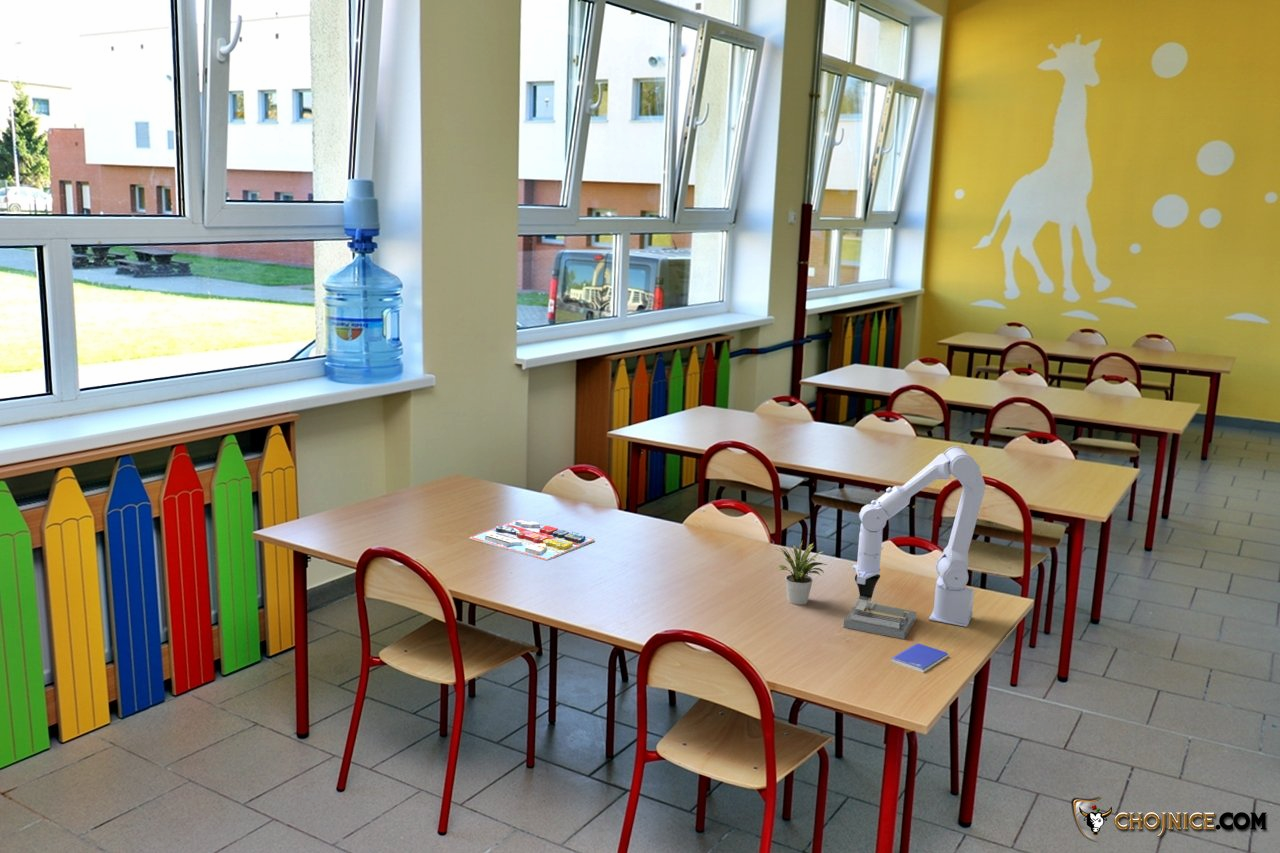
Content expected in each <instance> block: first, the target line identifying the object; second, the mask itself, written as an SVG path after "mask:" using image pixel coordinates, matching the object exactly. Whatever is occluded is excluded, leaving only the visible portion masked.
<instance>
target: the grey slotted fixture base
mask: <svg viewBox="0 0 1280 853" xmlns="http://www.w3.org/2000/svg"><path fill="white" fill-rule="evenodd" d="M856 606H857V602H856V603H855V604H854V606H853V607H852V609H851V610H850V611H849V613H848V614H847V615H846V616H845V618H844V619H843V628H846V629H850V630H857V631H861V632H866V633H870V634H875V635H880V636H885V637H886V636H887V637H891V638H896V639H901V640H905V638H906V637H907V635H908V634H909V632H910V630H911V629H912V627H913V625H914V623H915V622H916V620H917V616H918V615H917V611H913V610H910V609H909V610H908V609H905V608H904V609H902V608H897V607H893V606H888V605H882V604H878V601H877V600H874V602H872V603H871V602H870V608H869V610H870V611H875V612H880V613H885V614H890V615H895V616H900V618H896V617H891V616H886V615H881V614H876V613H870V612H865V611H860V610H855V608H856Z"/></svg>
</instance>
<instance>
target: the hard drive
mask: <svg viewBox="0 0 1280 853" xmlns="http://www.w3.org/2000/svg"><path fill="white" fill-rule="evenodd" d="M948 656H949V653H948V652H946V651H944V650H940V649H938V648H935V647H931V646H928V645H924V644H921V643H917V642H916V643H914V645H912V646H910V647H909V648H906V649H904V650H903V651H901V652H899V653H897V654H896V655H894V656H893V657H891V658H890V663H893V664H896V665H899V666H901V667H905V668H908V669H910V670H914V671H916V672H920V673H923V674H924V673H925V672H926V671H928V670H930V669H931V668H932V667H934V666H936V665H937V664H938V663H941V662H942V661H943V660H945V659H947V658H948Z"/></svg>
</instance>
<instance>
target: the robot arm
mask: <svg viewBox="0 0 1280 853" xmlns="http://www.w3.org/2000/svg"><path fill="white" fill-rule="evenodd" d="M951 475H952V476H953V477H954V478H955V479H956V480H957V481H958V482H959V483H960V484H961V486H962V491H961V494H960V495H961V496H960V499H959V502H958V506H957V510H956V514H955V517H954V519H953V520H954V521H953V525H952V527H951V528H952V529H951V531H950V535H949V539H948V544H947V545H946V547H945V548H944V549H943V551H942V554H941V556H940V557H939V558H937V561H936V564H935V570H936V573H937V574H938V575H939V576H938V578H937V580H936V582H935V591H934V602H933V603H934V604H933V610H932V612H931V614H930V615H929V617H928V619H929V620H930V621H935V622H938V623H939V622H940V623H944V624H949V625H956V626H958V627H959V626H960V627H961V626H962V627H966V628H967V627H968V626H969V624H970V622H971V619H973V618H972V617H973V605H974V598H975V597H974V596H975V590H974V588H971V587H968V586H967V584H968V582H969V572H968V567H969V549H970V546H971V543H972V539H973V535H974V532H975V529H976V525H977V519H978V516H979V512H980V509H981V505H982V502H983V498H984V494H985V491H986V483H985V480H984V477H983V474H982V471H981V469H980V464H979V463H978V462H977V461H976V460H975V459H974V458H973V457H972V456H971V455H970V454H969V453H968V452H967V451H966V450H965V448H963V447H960V446H957V445H955V446H951V447H949V448H947V449H946V450H945V451H944V452H942V453H940V454H937V455H936V457H935V458H934V459H933V460H932V461H931V462H930V463H928V464H927V465H926V466H925V467H923V468H922V469H921V470H920V471H919V472H917V473H916V474H915V475H914V476H912V477H911V479H909V480H908V481H907V482H905V484H903V485H894V486H892V487H891V486H889V487H887V488H886V489H885V491H886V492H885V493H883V494H882V495H881V496H880V497H877V498H876V499H873V500H871V502H870V503H867V504H865V505H864V506H862V507H861V509H860V512H859V513H858V518H859V520H860V521H861V523H860V527H859V529H860V530H859V533H858V534H859V535H858V550H857V561H856V562H857V563H856V564H853V565H852V566H851V569H852V570H855V571H856V574H855V576H854V581H855V582H856V585H857V587H858V593H859V596H865V597H870V602H871V601H872V597H873V595H874V594H873V593H874V591H875V588H876V586H877V583H878V581H879V579H880V578H881V575H880V573H881V555H882V547H883V546H882V544H883V529H884V528H885V527H886V525H887V521H888V520H890V519H892V517H894V516H896V515H897V514H898V513H899V512H901V511H902V510H903V509H904V508H906V507H907V506H909V505H910V501H911V498H912V497H913V496H914V495H916V494H918V493H919V492H920V491H921V490H924V488H926V487H928V486H929V485H931V483H933V482H935V481H936V480H952V478H951Z"/></svg>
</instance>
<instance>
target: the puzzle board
mask: <svg viewBox="0 0 1280 853" xmlns="http://www.w3.org/2000/svg"><path fill="white" fill-rule="evenodd" d="M595 540H596V539H594V538H592V537H587V536H586V535H584V534H581V533H578V532H575V531H571V532H569V531H566V530H561V529H558V527H553V526H551V525H543V524H540V522H537V521H528V520H525V519H521V518H520V519H519V518H518V519H515V520H512V521H510V522H507V523H504V524H502V525H497V526H495V527H493V528H491V529H488V530H485V531H482V532H479V533H478V534H475V535H472V536H470V537H469V541H473V542H478V543H482V544H485V545H488V546H491V547H495V548H499V549H503V550H506V551H510V552H514V553H517V554H521V555H524V556H527V557H532V558H535V559H539V560H542V561H546V562H547V561H550V560H552V559H554V558H557V557H560V556H562V555H565V554H567V553H570V552H573V551H574V550H577V549H580V548H582V547H584V546H587V545H589V544H591V543H595Z"/></svg>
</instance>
